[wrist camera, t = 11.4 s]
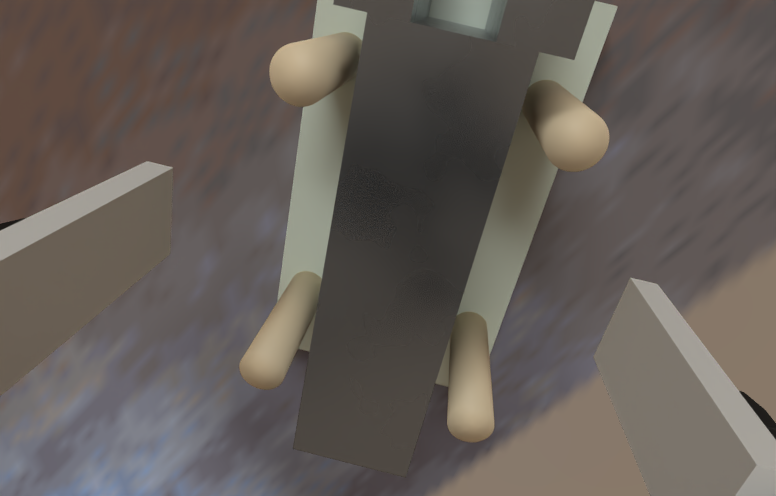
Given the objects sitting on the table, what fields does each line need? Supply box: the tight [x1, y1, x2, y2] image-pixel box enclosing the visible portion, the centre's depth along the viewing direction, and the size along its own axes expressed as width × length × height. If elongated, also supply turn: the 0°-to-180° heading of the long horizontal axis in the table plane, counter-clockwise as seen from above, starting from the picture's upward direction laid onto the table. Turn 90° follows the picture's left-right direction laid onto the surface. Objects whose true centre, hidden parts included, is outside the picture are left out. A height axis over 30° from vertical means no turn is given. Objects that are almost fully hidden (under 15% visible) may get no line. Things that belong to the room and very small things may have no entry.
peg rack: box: [239, 0, 618, 442], centre depth 19 cm, size 17×10×8 cm, turn 168°
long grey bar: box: [293, 0, 595, 478], centre depth 17 cm, size 17×6×7 cm, turn 168°
